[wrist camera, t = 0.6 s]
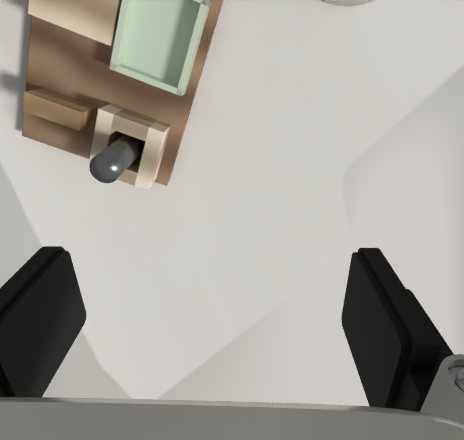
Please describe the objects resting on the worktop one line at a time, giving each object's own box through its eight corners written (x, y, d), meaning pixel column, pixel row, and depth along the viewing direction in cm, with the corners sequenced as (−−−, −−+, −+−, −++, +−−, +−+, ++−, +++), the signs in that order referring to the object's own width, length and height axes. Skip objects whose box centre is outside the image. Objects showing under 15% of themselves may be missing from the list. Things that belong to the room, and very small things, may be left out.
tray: (136, -30, 33) (128, -36, 31) (211, 2, 34) (208, -2, 32) (117, 67, 37) (109, 68, 35) (185, 93, 38) (181, 96, 36)
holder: (112, 103, 39) (98, 108, 35) (171, 125, 40) (163, 132, 36) (100, 159, 42) (87, 169, 38) (156, 178, 43) (148, 190, 39)
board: (48, -84, 33) (14, -107, 28) (225, -8, 35) (222, -17, 30) (29, 132, 42) (0, 144, 37) (169, 181, 45) (159, 198, 40)
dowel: (126, 127, 40) (91, 149, 31) (149, 135, 40) (122, 160, 31) (121, 149, 41) (87, 177, 32) (143, 157, 42) (116, 187, 33)
